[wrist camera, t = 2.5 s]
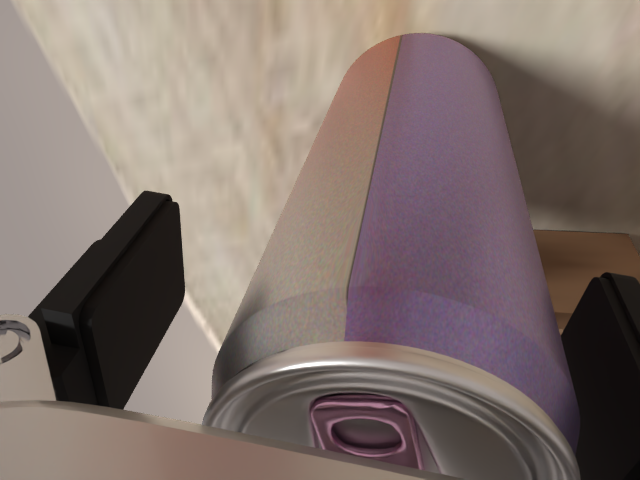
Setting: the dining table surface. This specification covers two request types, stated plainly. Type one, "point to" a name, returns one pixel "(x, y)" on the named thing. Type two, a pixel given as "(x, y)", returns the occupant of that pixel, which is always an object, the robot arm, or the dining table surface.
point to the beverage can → (406, 287)
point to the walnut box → (581, 264)
